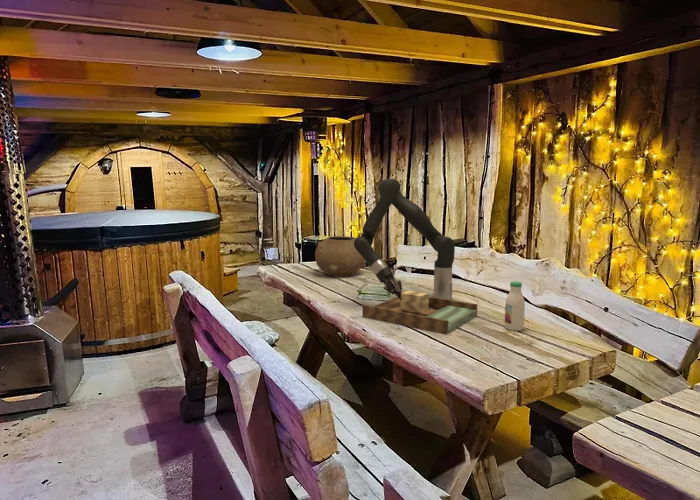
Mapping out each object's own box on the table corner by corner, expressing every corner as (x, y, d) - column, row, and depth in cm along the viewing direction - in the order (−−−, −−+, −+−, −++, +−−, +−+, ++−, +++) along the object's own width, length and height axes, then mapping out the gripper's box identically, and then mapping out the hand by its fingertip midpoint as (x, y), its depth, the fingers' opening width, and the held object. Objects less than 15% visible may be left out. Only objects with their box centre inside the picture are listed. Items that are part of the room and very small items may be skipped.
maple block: (400, 308, 220) (400, 293, 219) (407, 305, 225) (407, 290, 224) (421, 312, 214) (422, 296, 213) (428, 309, 219) (428, 293, 218)
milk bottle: (523, 326, 203) (525, 281, 200) (523, 332, 195) (526, 284, 192) (504, 324, 205) (506, 279, 202) (504, 330, 198) (506, 283, 195)
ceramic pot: (308, 272, 323) (307, 236, 319) (352, 268, 337) (352, 233, 333) (326, 281, 293) (326, 241, 289) (374, 276, 307) (374, 238, 303)
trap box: (362, 316, 218) (362, 305, 217) (398, 302, 244) (398, 291, 243) (446, 334, 193) (447, 321, 192) (476, 315, 219) (477, 304, 218)
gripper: (378, 268, 221) (401, 297, 215) (393, 263, 231) (415, 291, 226) (369, 277, 225) (391, 306, 219) (384, 273, 235) (405, 301, 230)
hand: (403, 299), depth 223 cm, fingers closed
